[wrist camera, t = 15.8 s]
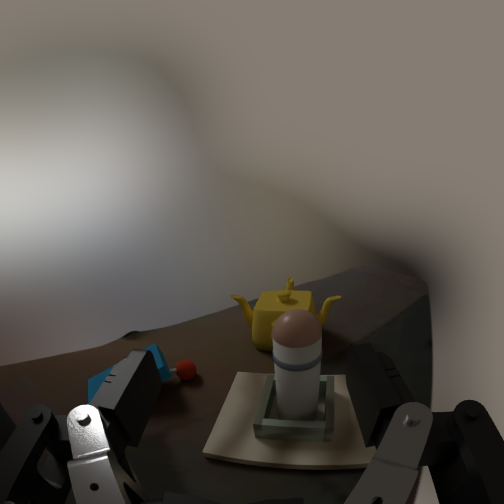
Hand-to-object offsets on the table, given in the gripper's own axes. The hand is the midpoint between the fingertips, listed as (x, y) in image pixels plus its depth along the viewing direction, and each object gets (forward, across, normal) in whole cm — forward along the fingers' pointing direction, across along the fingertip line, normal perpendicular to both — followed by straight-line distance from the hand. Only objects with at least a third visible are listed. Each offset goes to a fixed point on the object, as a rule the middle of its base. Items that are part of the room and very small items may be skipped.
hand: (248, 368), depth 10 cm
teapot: (+35, -3, +23) cm, 42 cm away
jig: (+15, -4, +23) cm, 27 cm away
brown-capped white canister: (+15, -4, +22) cm, 26 cm away
